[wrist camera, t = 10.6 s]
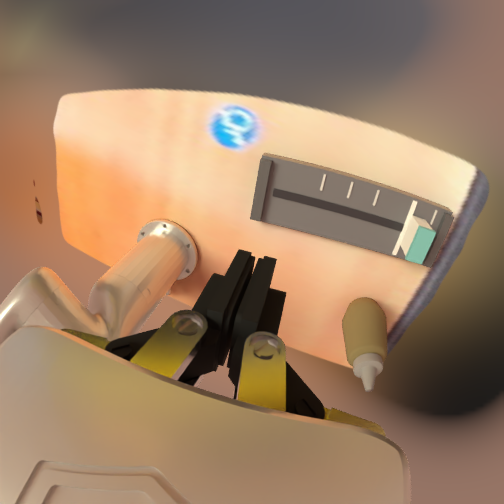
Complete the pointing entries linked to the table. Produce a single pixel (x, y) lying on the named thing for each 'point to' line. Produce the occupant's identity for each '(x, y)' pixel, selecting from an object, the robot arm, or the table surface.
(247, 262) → the robot arm
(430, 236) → the fader knob
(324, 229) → the console board
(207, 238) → the table surface
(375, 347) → the squeeze bottle
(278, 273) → the table surface
